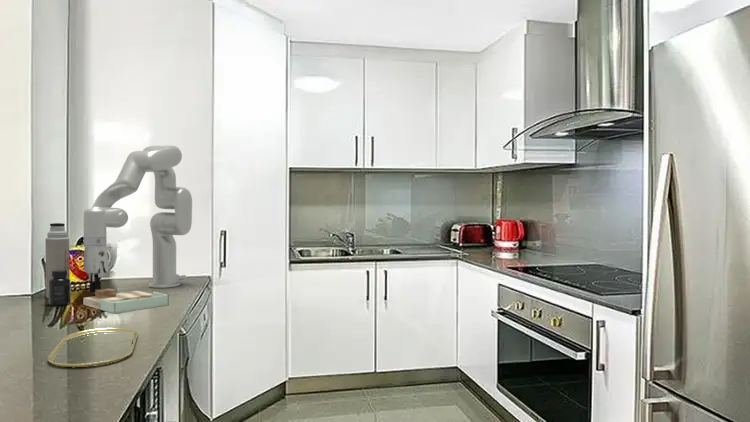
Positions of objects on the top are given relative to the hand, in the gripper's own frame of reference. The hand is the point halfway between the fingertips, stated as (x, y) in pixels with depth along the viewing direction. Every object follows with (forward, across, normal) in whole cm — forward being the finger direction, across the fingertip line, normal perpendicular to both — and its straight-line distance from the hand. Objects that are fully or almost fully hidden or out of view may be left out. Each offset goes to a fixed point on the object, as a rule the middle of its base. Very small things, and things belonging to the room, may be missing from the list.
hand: (95, 291), depth 207 cm
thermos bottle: (+4, +19, +5) cm, 20 cm away
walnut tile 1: (0, -22, -8) cm, 24 cm away
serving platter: (+4, -62, +29) cm, 68 cm away
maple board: (+3, -10, -4) cm, 11 cm away
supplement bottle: (+4, +3, +11) cm, 12 cm away
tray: (+3, -21, -4) cm, 21 cm away
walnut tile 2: (+1, -8, 0) cm, 8 cm away
